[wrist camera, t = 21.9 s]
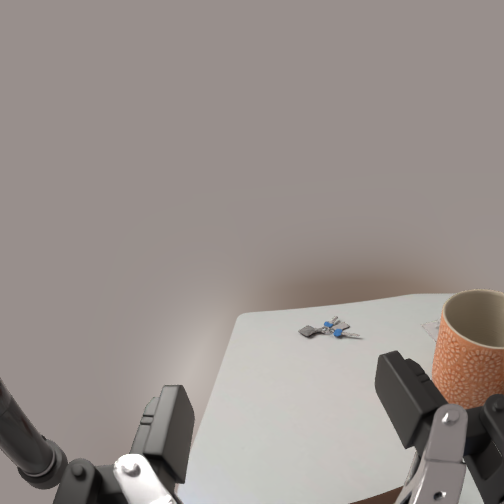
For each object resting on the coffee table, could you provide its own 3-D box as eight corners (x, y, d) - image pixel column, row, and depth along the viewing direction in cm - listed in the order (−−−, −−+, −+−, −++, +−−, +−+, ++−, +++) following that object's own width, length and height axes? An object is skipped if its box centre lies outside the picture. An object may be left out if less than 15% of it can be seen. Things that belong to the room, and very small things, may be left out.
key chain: (296, 337, 59) (296, 334, 59) (303, 318, 67) (303, 315, 66) (359, 338, 54) (359, 335, 54) (359, 318, 62) (359, 315, 61)
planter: (457, 348, 41) (472, 280, 37) (517, 382, 26) (546, 309, 21) (404, 391, 36) (420, 316, 32) (473, 443, 21) (516, 366, 17)
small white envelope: (474, 328, 45) (476, 318, 44) (435, 341, 46) (437, 331, 45) (458, 313, 52) (460, 304, 51) (420, 324, 53) (422, 315, 52)
